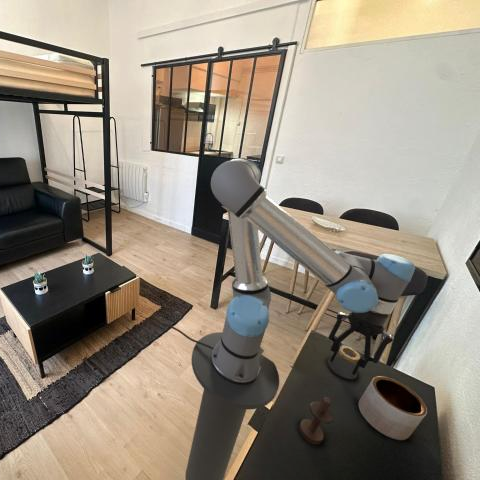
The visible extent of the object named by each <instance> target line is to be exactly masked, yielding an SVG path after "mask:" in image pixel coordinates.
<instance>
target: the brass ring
mask: <svg viewBox="0 0 480 480" xmlns="http://www.w3.org/2000/svg"><path fill="white" fill-rule="evenodd" d="M345 351H346V352H349V353H351V354H352V355H353V356H350V355H348V354H347V353H346V352H345ZM337 353H338V354H339V355H340V356H341V357H342V358H344V360H347V362H348V361H349V362H351V363H357V362H358V361H359V359H360V356H361V354H359V352H358V351H357V350H355V349H354V348H352V347H350V346H347V345H341V346H340V348H339V350H338V352H337Z"/></svg>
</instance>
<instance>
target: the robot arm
mask: <svg viewBox="0 0 480 480" xmlns="http://www.w3.org/2000/svg"><path fill="white" fill-rule="evenodd" d="M261 179H262V174H261V170H260V168H259V166H258V165H257V163H255V162H254V161H253V160H251V159H249V158H246V157H236V158H233V159H230V160H227V161H224V162H222V163H221V164H219V165H218V166H217V167H216V168H215V170H213V173H212V176H211V178H210V189H211V193H212V194H213V195H214V198H215V199H216V200H217V201H218V202H219V203H220V204H221V207H222V208H223V209H225V210H226V211H227V217H228V218H227V219H228V226H229V234H230V242H231V243H230V244H231V250H232V259H233V268H234V275H235V277H234V278H233V279H232V280H231V286H232V288H231V289H232V296H233V298H232V299H231V300H230V302H229V304H228V306H227V308H226V316H225V320H224V324H223V328H222V331H221V332H222V337H221V339H220V340H219V342H218V343H217V344H216V346H215V347H211V346H209V345H206V344H204V343H202V342H199V340H196V339H194V338H191V337H190V336H188V335H187V334H186V333H184V332H183V331H182V330H180V329H178V328H177V327H175V326H172V325H170V324H169V323H167V322H164V323H163V325H164V326H166V327H169V328H170V329H173V330H175V331H177V332H178V333H180V334H181V335H182V336H183V337H185V338H187V339H188V340H189V341H191V342H193V343H195V344H196V343H198V344H201V345H204V346H206V347H208V348H211V349H213V351H212V355H211V362H212V365H213V367H214V369H215V371H216V372H217V373H218V374H219V375H220V376H221V377H222V378H224V379H225V380H227V381H229V382H231V383H234V384H240V385H245V384H250V383H252V382H253V381H255V379H256V378H257V376H258V374H259V371H260V369H261V365H260V366H259V357H258V352H259V349H260V347H261V346H262V342H263V338H264V336H265V333H266V329H268V326H269V321H270V312H269V311H270V305H271V302H272V301H271V300H272V294H271V290H270V288H269V283H268V279H267V278H266V277H265V276H263V268H262V259H261V258H262V257H261V248H260V237H259V235H260V234H259V232H260V233H262V234H263V235H264V236H265V237H267V238H268V239H269V240H270V241H272V243H273V244H275V245H276V246H277V247H279V248H280V249H281V250H282V251H283V252H284V253H285V254H287V255H288V256H289V257H290V258H291V259H293V260H294V261H295V262H296V263H297V264H298V265H299V266H301V267H302V268H304V269H305V270H306V271H307V272H308V273H309V274H311V275H312V276H313V277H314V278H315V279H316V280H318V281H319V282H320V283H321V284H322V285H324V286H325V287H326V288H327V289H328V290H330V291H331V292H332V293H333V294H334V295H335V299H336V300H337V302H338V303H339V305H340V306H341V308H343V309H344V310H346V311H348V312H349V313H345V312H344V311H342V310H339V311H338V313H337V315H336V321H335V323H334V325H333V327H332V329H331V330H330V332H329V335H328V340H330V341H332V345H331V347H330V351H331V352H333V354H332V355H331V357H330V358H331V360H330V361H331V362H333V360H334V358H335V357H336V356H337V354H338V353H339V352H338V350H339V348H340V346H342V344H343V343H342V342H343V341H344V340H345V339H346V338H348V337H349V336H350V335H351V334H353V333H354V332H356V333H359V334H361V335H362V336H364V337H365V338H364V351H363V353H361V354H360V359H359V361H358V362H355V363H356V364H355V365H354V366H353V367H354V369H353V372H352V374H354V375H355V374H356V372H357V373H358V370H359V368H362V369H365V368H366V366H367V365H368V363H369V362H372V363H373V364H378V363H379V362H380V359H381V358H382V356H383V353H384V352H385V350H386V348H387V346H388V345H389V344H391V343H392V342H393V341H394V338H395V336H394V334H393V333H388V332H387V331H386V330H385V327H384V326H385V325H386V323H387V322H388V319H389V318H390V317H391V314H392V313H393V311H394V310H395V309H394V308H395V307H396V305H397V303H398V302H399V300H400V298H401V296H402V294H403V292H404V291H405V290H406V288H407V286H408V285H409V283H410V282H411V281H412V277H413V275H414V273H415V270H416V265H415V264H414V263H413V261H411V260H409V259H408V258H405V257H403V256H399V255H396V254H393V253H389V254H388V253H382V254H380V255H379V256H378V257H377V259H372V258H367V257H362V256H358V255H356V254H355V255H354V254H350V253H346V252H343V251H337V250H334V249H332V248H331V247H330V246H328V245H327V244H326V243H325V242H324V241H323V240H321V239H320V238H319V237H318V236H317V235H316V234H314V233H313V232H311V230H309V229H308V228H307V227H306V226H305V225H303V224H302V223H301V222H300V221H298V220H297V219H296V218H295V217H293V216H292V215H291V214H289V212H287V211H286V210H284V208H282V206H280V205H279V204H278V203H276V202H275V201H274V200H273V199H271V198H270V197H269V196H268V195H267V189H266V188H264V186H262V184H261ZM346 320H348V321H349V326H348V327H347V328H346V329H345V330H343V332H341V333H340V334H339V335H337V336H336V334H337V332H338V331H339V328H340V327H341V324H342V323H343V321H344V322H345V321H346ZM377 335H381V336H380V337H381V341H380V343H379V345H378V347H377V349H376V350H375V353H374V354H372V353H371V352H372V344H373V343H372V341H373V336H377Z"/></svg>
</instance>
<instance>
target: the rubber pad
mask: <svg viewBox="0 0 480 480" xmlns="http://www.w3.org/2000/svg"><path fill="white" fill-rule="evenodd" d="M331 358H332V357H330V358H329V359H328V360H327V366H328V368H329V369H330V371H331V372H332V373H334V374H335V375H336V376H338V377H339V378H341V379H344V380H347V381H355V380H356V379H357V377H358V371H357V372H356V374H355V375H354V374H352V372H353V369H354V367H355V366H353V365H352V364H351V363H349V362H348V361H346V360H345V359H342V358H339V357H336V356H335V358H334V360H333V362H331V361H330V360H331Z"/></svg>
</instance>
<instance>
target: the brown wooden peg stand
mask: <svg viewBox="0 0 480 480" xmlns="http://www.w3.org/2000/svg"><path fill="white" fill-rule="evenodd" d="M331 403H332V400H331V399H330V398H329V397H327V396H324V397H323V399H322V401H321V402H319V401H313V402H311V403H310V405H309V411H310V413H311V415H312V416H313V419H309V418H304V419H302V421H301V422H300V424H299V426H298V429H299V433H300V434H301V436H302V438H304V440H305V441H307V442H308V443H310V444H311V445H315V446H316V445H317V446H318V445H321V443H322V442H323V440H324V437H325V436H324V435H325V434H324V431H323V429H322V428H321V426H320V424H321V423H322V424H325V425H328V424H331V423H332V422H333V419H334V416H333V413H332V411H331V410H330V408H329V407H330V405H331Z"/></svg>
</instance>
